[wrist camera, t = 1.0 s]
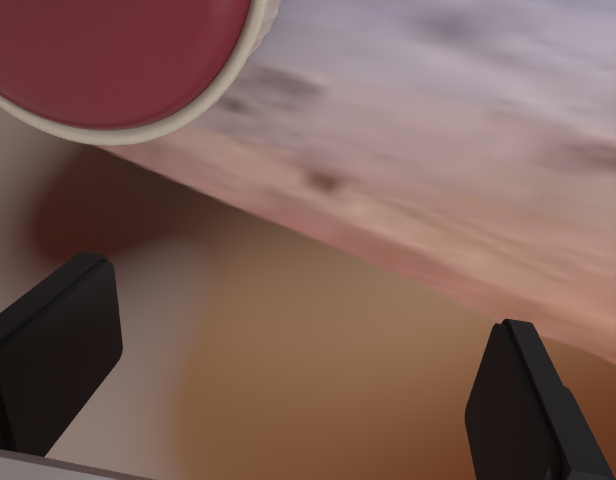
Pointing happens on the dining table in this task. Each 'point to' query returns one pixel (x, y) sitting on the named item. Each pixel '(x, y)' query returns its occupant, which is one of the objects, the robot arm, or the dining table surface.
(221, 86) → the canister
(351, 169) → the dining table surface
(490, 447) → the robot arm
